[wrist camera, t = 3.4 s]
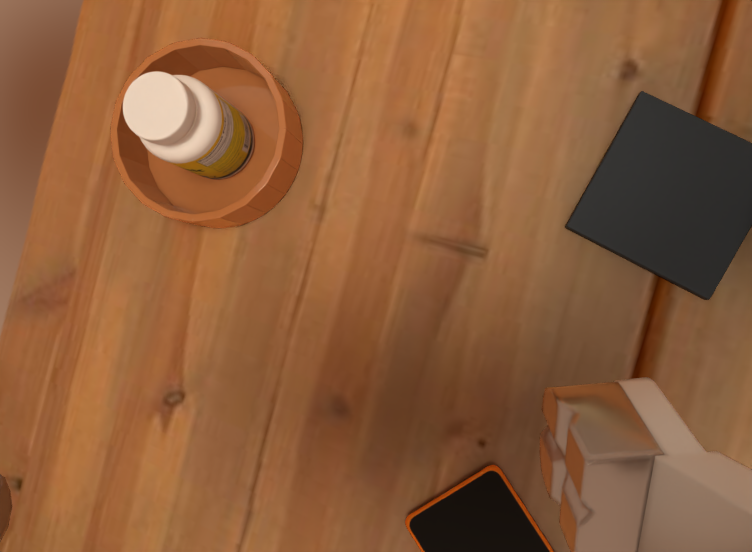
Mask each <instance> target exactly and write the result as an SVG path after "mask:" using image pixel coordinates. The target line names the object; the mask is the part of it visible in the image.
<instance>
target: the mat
mask: <svg viewBox="0 0 752 552" xmlns="http://www.w3.org/2000/svg"><path fill="white" fill-rule="evenodd" d="M751 226H752V143H750V142H748V141H746V140H744V139H742V138H740V137H738V136H736V135H734V134H731V133H729V132H727V131H725V130H723V129H721V128H719V127H717V126H715V125H713V124H710V123H708V122H706V121H704V120H702V119H700V118H698V117H696V116H694V115H691V114H689V113H687V112H685V111H683V110H681V109H679V108H677V107H675V106H673V105H670V104H668V103H666V102H664V101H662V100H660V99H658V98H656V97H654V96H651V95H649V94H647V93H645V92H643V91H641V92H640V93H639V95H638V96H637V98H636V100H635V102H634V104H633V105H632V107H631V109H630V111H629V113H628V114H627V116H626V118H625V120H624V122H623V123H622V125H621V127H620V129H619V131H618V132H617V134H616V136H615V138H614V140H613V141H612V143H611V145H610V147H609V149H608V150H607V152H606V154H605V156H604V158H603V159H602V161H601V163H600V165H599V167H598V168H597V170H596V172H595V174H594V176H593V177H592V179H591V181H590V183H589V185H588V186H587V188H586V190H585V192H584V194H583V195H582V197H581V199H580V201H579V203H578V204H577V206H576V208H575V210H574V212H573V213H572V215H571V217H570V219H569V221H568V222H567V224H566V226H565V228H567V229H569V230H571V231H572V232H574V233H576V234H578V235H580V236H582V237H584V238H586V239H588V240H590V241H592V242H594V243H596V244H598V245H600V246H602V247H604V248H605V249H607V250H609V251H611V252H613V253H615V254H617V255H619V256H621V257H623V258H625V259H627V260H629V261H631V262H633V263H635V264H636V265H638V266H640V267H642V268H644V269H646V270H648V271H650V272H652V273H654V274H656V275H658V276H660V277H662V278H664V279H666V280H668V281H669V282H671V283H673V284H675V285H677V286H679V287H681V288H683V289H685V290H687V291H689V292H691V293H693V294H695V295H697V296H699V297H700V298H702V299H704V300H709V299H710V298H711V296H712V294H713V293H714V291H715V289H716V287H717V286H718V284H719V282H720V280H721V279H722V277H723V275H724V273H725V272H726V270H727V268H728V266H729V265H730V263H731V261H732V259H733V258H734V256H735V254H736V252H737V251H738V249H739V247H740V245H741V243H742V242H743V240H744V238H745V236H746V235H747V233H748V231H749V229H750V228H751Z"/></svg>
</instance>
